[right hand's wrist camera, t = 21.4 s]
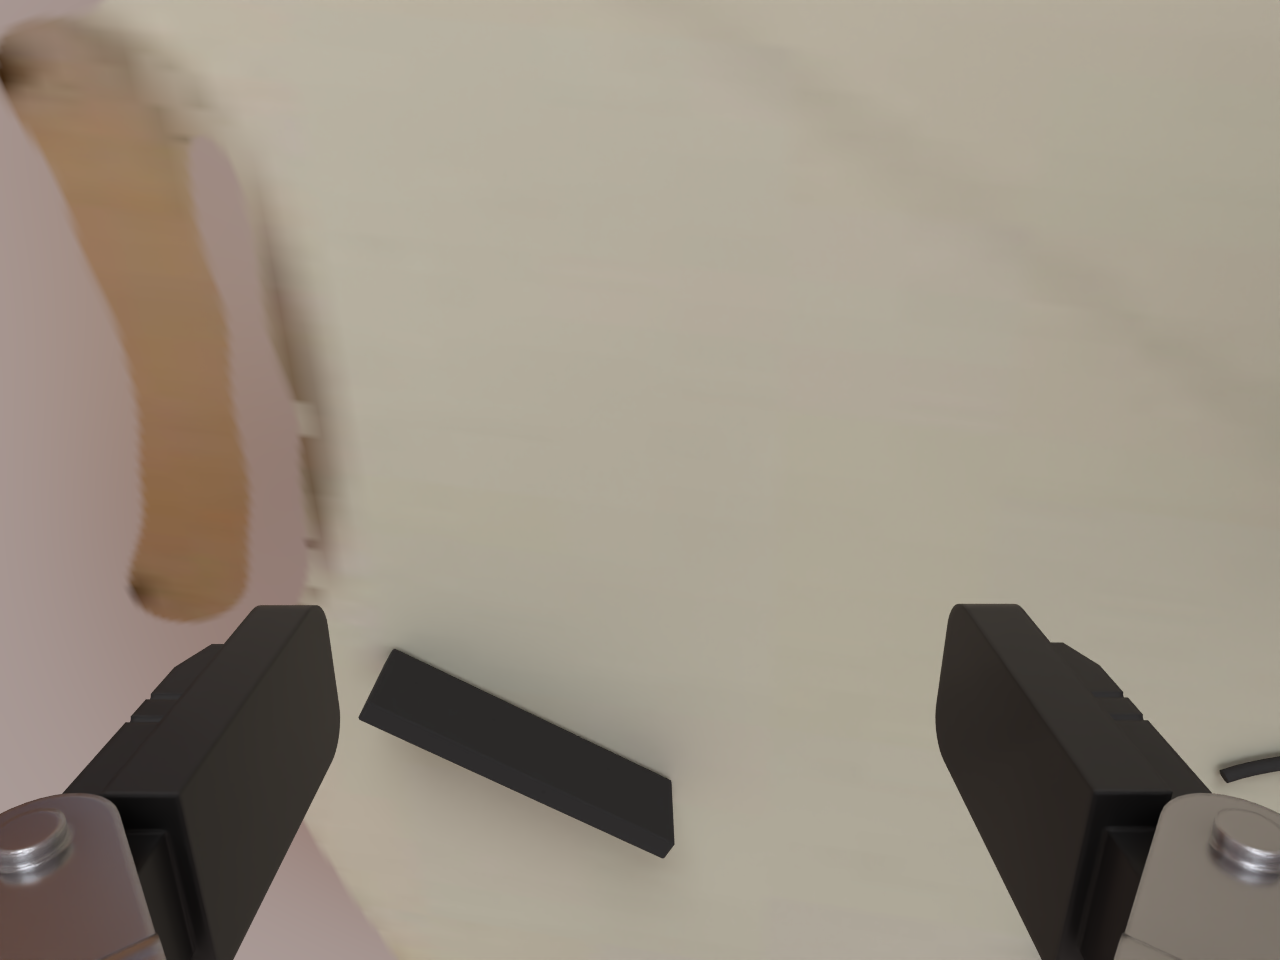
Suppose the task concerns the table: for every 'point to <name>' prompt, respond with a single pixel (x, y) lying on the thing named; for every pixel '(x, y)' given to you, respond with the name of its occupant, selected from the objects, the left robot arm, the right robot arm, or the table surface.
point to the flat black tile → (521, 752)
